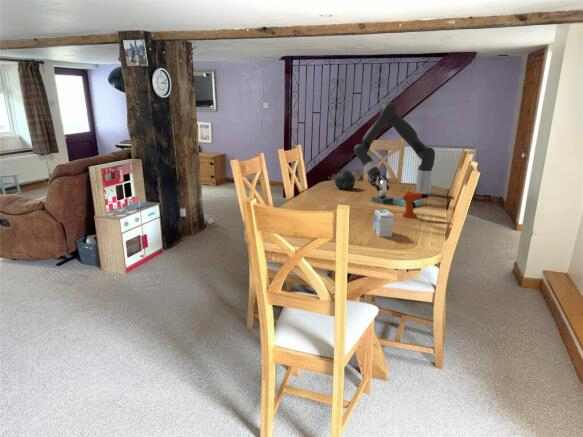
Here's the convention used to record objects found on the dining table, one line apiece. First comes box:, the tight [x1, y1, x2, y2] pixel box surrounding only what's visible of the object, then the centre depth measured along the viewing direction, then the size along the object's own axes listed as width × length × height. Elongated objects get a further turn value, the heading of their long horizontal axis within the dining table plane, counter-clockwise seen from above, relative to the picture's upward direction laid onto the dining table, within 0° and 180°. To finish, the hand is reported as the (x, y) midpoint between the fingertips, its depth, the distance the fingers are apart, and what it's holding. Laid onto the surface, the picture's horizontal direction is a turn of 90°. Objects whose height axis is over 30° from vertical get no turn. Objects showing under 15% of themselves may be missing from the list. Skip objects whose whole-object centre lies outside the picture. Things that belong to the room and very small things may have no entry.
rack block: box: [392, 196, 424, 208], centre depth 261 cm, size 13×13×3 cm
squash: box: [334, 170, 356, 191], centre depth 306 cm, size 14×15×15 cm
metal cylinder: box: [378, 180, 387, 198], centre depth 266 cm, size 4×4×14 cm
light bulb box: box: [373, 209, 395, 238], centre depth 201 cm, size 11×7×11 cm, turn 5°
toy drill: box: [402, 191, 438, 219], centre depth 229 cm, size 5×19×15 cm, turn 75°
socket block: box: [370, 194, 395, 205], centre depth 268 cm, size 10×10×3 cm
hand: (384, 189), depth 265 cm, fingers open, 8 cm apart
